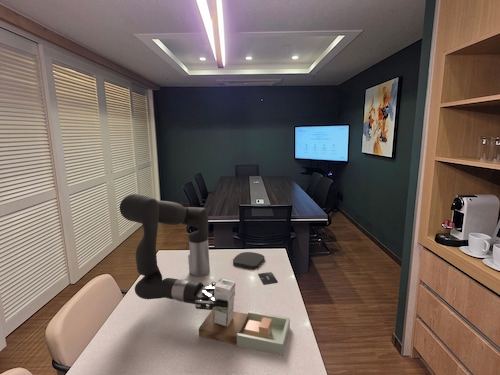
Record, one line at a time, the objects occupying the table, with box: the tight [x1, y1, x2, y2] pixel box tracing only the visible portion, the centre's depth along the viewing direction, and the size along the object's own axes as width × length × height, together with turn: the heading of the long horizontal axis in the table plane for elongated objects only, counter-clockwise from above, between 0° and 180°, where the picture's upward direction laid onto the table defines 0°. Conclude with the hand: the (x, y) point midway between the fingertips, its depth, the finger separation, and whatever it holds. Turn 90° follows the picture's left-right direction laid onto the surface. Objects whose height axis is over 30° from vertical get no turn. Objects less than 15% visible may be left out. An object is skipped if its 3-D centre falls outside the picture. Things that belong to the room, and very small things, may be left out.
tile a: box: [245, 320, 261, 337], centre depth 96 cm, size 5×5×3 cm
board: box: [198, 310, 248, 346], centre depth 99 cm, size 14×12×3 cm
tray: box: [236, 310, 291, 357], centre depth 95 cm, size 15×13×4 cm
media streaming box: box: [232, 251, 266, 270], centre depth 150 cm, size 15×15×3 cm
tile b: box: [259, 317, 272, 339], centre depth 94 cm, size 5×5×3 cm
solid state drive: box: [257, 271, 279, 286], centre depth 133 cm, size 7×10×1 cm
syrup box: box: [213, 278, 236, 327], centre depth 98 cm, size 6×6×14 cm
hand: (231, 298), depth 96 cm, fingers closed on syrup box, 5 cm apart
